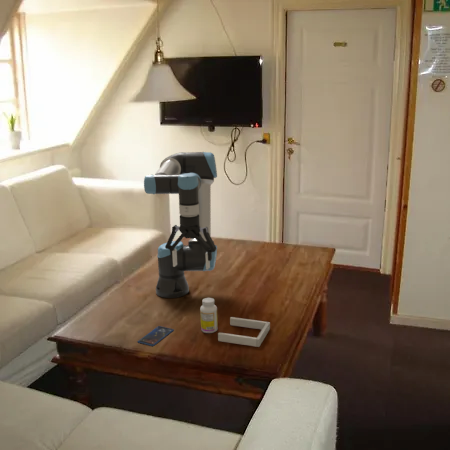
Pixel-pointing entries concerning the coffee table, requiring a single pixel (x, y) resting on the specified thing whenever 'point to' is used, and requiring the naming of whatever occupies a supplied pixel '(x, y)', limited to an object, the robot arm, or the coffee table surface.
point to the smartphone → (155, 336)
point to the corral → (245, 339)
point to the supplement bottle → (208, 316)
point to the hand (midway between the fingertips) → (191, 267)
